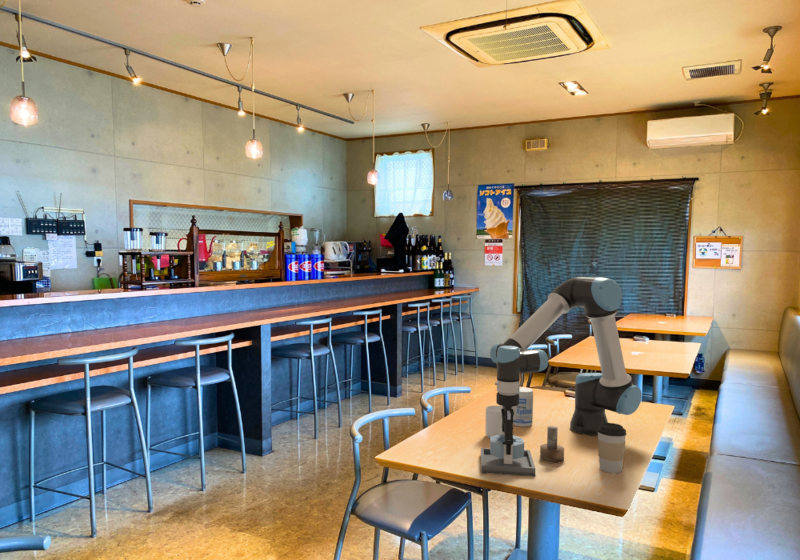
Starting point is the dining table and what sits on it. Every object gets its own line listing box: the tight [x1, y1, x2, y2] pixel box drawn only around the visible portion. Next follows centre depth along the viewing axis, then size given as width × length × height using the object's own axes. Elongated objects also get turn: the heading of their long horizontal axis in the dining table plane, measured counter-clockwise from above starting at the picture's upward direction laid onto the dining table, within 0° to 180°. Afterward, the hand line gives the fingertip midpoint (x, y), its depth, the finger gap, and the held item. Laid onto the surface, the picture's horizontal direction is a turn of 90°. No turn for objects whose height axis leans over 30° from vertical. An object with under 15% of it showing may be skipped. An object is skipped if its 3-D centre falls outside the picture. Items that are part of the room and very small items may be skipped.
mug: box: [485, 405, 503, 439], centre depth 219 cm, size 12×9×11 cm
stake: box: [539, 425, 565, 464], centre depth 194 cm, size 8×8×11 cm
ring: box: [489, 434, 525, 459], centre depth 188 cm, size 11×11×4 cm
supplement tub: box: [512, 386, 534, 428], centre depth 235 cm, size 10×10×15 cm
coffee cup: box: [597, 422, 627, 474], centre depth 185 cm, size 9×9×15 cm
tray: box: [480, 447, 536, 477], centre depth 188 cm, size 17×17×2 cm
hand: (506, 457), depth 188 cm, fingers closed on ring, 11 cm apart
